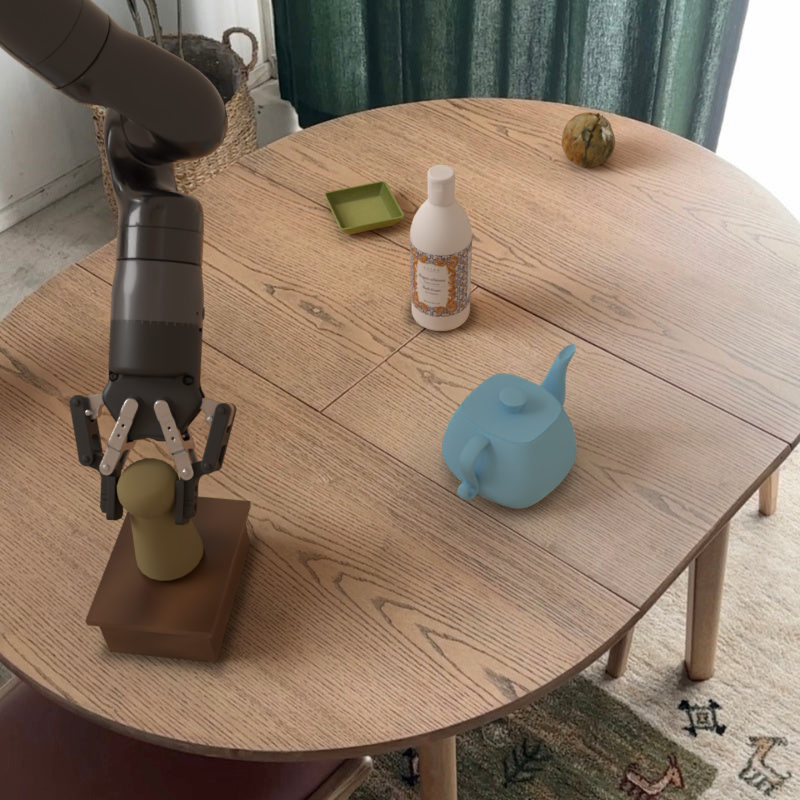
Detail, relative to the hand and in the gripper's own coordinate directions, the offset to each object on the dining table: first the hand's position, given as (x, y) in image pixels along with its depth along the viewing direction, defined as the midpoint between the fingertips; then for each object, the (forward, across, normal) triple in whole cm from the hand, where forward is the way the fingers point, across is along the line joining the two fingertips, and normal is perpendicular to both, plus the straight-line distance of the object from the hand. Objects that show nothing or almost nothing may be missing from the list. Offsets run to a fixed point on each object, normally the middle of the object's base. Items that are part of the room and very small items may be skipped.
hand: (148, 520), depth 89 cm
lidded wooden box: (+9, 0, +11) cm, 14 cm away
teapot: (-5, +31, +25) cm, 40 cm away
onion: (-44, +40, +64) cm, 87 cm away
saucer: (-33, +10, +54) cm, 64 cm away
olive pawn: (+4, 0, +6) cm, 8 cm away
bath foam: (-20, +21, +40) cm, 50 cm away
